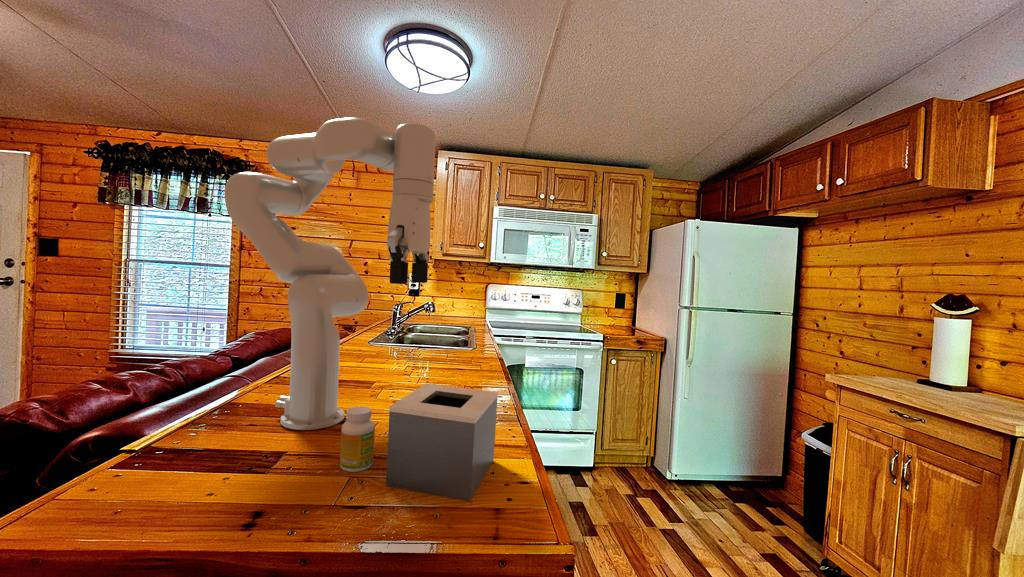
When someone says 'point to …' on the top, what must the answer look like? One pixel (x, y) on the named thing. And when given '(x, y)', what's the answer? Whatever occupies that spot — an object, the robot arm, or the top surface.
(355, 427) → the supplement bottle
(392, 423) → the box
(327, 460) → the top surface
